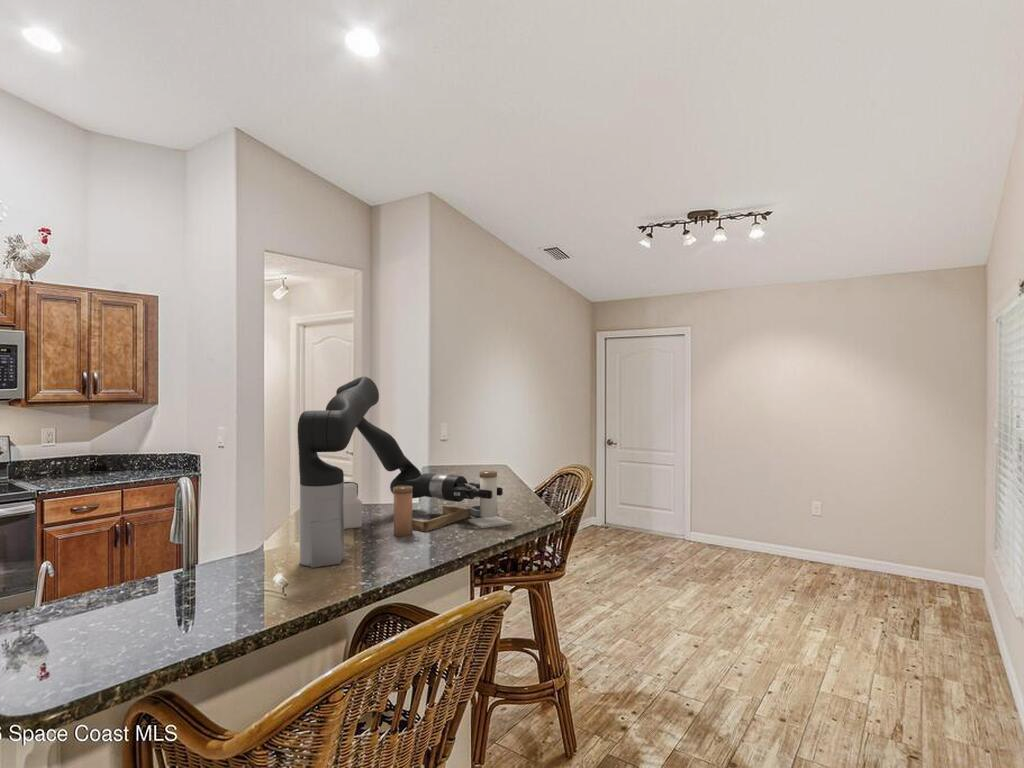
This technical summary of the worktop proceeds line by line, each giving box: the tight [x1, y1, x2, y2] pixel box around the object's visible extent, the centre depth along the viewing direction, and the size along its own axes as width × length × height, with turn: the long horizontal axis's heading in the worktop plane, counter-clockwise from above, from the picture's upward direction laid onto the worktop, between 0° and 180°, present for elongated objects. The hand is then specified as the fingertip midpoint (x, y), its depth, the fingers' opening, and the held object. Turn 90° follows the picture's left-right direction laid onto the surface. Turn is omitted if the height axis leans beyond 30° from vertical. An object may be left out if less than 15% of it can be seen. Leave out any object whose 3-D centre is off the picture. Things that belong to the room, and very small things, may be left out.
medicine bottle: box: [343, 481, 363, 530], centre depth 160 cm, size 7×7×12 cm
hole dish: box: [465, 504, 482, 518], centre depth 174 cm, size 7×7×2 cm
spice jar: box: [479, 470, 498, 518], centre depth 163 cm, size 5×5×12 cm
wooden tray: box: [412, 504, 471, 532], centre depth 164 cm, size 10×20×2 cm, turn 149°
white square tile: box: [467, 515, 512, 529], centre depth 163 cm, size 9×9×1 cm
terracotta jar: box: [392, 485, 413, 537], centre depth 151 cm, size 5×5×12 cm
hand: (496, 493), depth 162 cm, fingers closed on spice jar, 4 cm apart
